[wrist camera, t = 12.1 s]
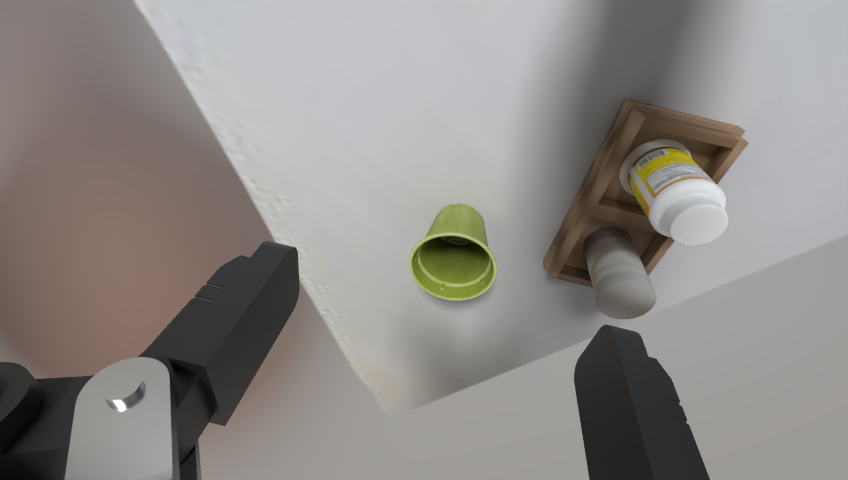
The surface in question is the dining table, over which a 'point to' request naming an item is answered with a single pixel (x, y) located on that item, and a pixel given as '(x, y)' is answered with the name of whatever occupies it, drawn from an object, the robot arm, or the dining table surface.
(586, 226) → the caddy
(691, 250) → the dining table surface
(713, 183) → the supplement bottle
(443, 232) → the plant pot
